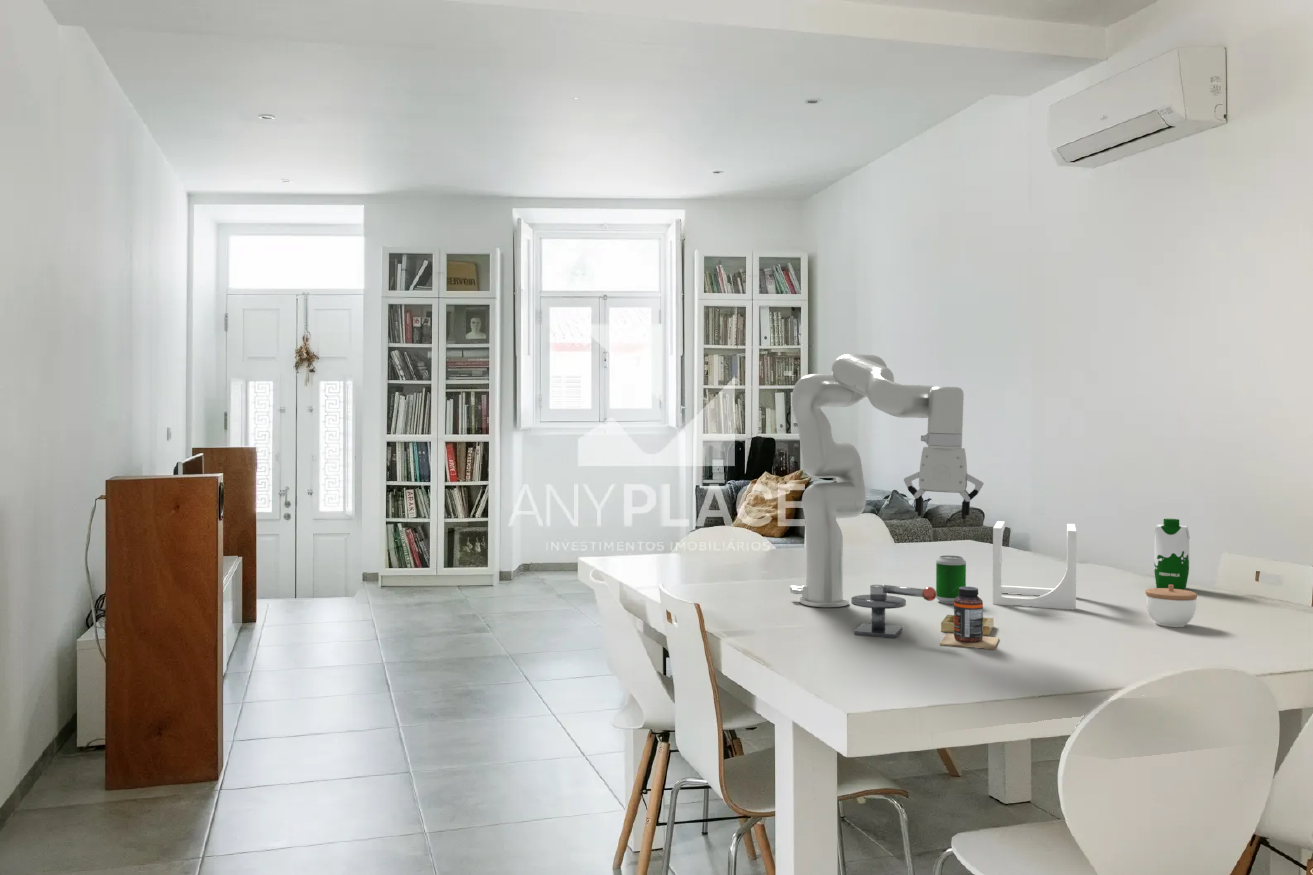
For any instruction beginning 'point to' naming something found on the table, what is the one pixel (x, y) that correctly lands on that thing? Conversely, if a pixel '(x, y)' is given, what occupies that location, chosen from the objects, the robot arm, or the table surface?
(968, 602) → the supplement bottle
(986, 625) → the square wooden frame
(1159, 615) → the lidded jar
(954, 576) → the soda can
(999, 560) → the bookend
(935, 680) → the table surface
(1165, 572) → the milk carton
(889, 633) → the grey pedestal base
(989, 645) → the cork mat
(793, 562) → the table surface
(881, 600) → the handwheel
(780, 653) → the table surface
